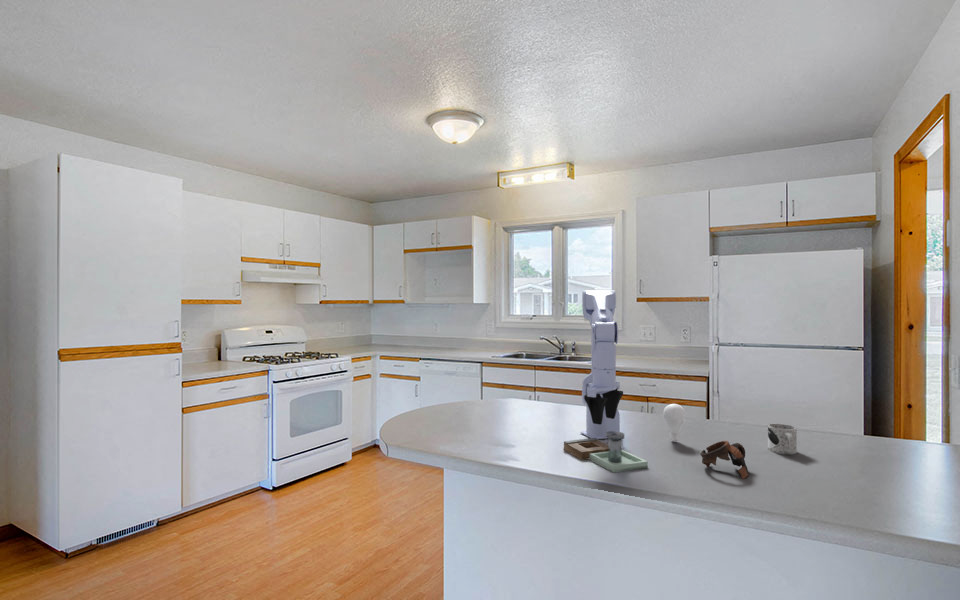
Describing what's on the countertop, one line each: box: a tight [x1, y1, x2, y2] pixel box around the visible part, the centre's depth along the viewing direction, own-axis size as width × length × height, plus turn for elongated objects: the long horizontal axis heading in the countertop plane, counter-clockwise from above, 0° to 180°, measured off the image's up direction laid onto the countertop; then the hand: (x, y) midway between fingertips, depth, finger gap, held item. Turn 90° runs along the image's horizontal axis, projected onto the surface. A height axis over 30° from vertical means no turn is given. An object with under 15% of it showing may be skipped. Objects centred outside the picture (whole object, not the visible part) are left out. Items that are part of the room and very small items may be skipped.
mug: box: [767, 423, 798, 456], centre depth 131 cm, size 10×7×7 cm
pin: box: [606, 431, 625, 463], centre depth 123 cm, size 4×4×7 cm
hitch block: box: [563, 437, 609, 461], centre depth 131 cm, size 10×9×2 cm
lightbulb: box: [663, 403, 687, 443], centre depth 141 cm, size 6×6×11 cm
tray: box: [589, 449, 649, 473], centre depth 122 cm, size 10×10×2 cm
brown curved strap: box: [699, 440, 750, 480], centre depth 118 cm, size 12×10×8 cm
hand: (603, 420), depth 126 cm, fingers open, 7 cm apart
